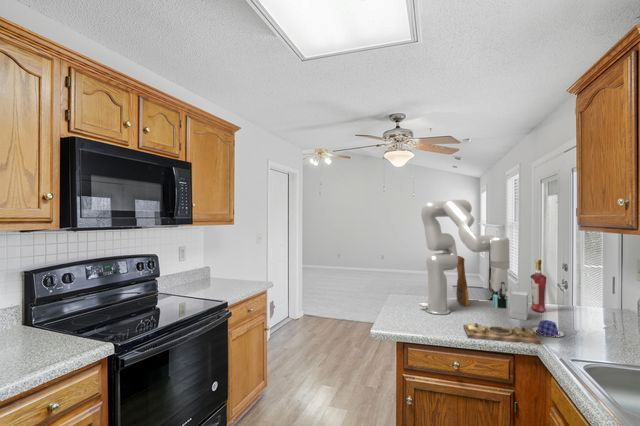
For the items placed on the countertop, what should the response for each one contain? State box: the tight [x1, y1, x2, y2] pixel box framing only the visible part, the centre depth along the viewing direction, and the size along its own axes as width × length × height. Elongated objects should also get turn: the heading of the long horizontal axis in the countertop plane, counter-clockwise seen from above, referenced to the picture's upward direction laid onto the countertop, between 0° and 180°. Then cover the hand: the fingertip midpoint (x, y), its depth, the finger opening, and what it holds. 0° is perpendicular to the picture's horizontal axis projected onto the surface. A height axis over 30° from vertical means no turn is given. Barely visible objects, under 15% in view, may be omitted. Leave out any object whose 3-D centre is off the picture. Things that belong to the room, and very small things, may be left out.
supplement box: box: [510, 290, 529, 321], centre depth 176 cm, size 7×7×13 cm
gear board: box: [462, 322, 542, 345], centre depth 151 cm, size 28×13×4 cm, turn 75°
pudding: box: [531, 319, 565, 338], centre depth 154 cm, size 12×12×5 cm
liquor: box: [530, 259, 547, 313], centre depth 186 cm, size 7×7×28 cm
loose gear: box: [492, 293, 509, 310], centre depth 151 cm, size 6×6×5 cm
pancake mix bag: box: [456, 255, 470, 307], centre depth 203 cm, size 7×19×28 cm, turn 168°
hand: (500, 305), depth 151 cm, fingers closed on loose gear, 5 cm apart
